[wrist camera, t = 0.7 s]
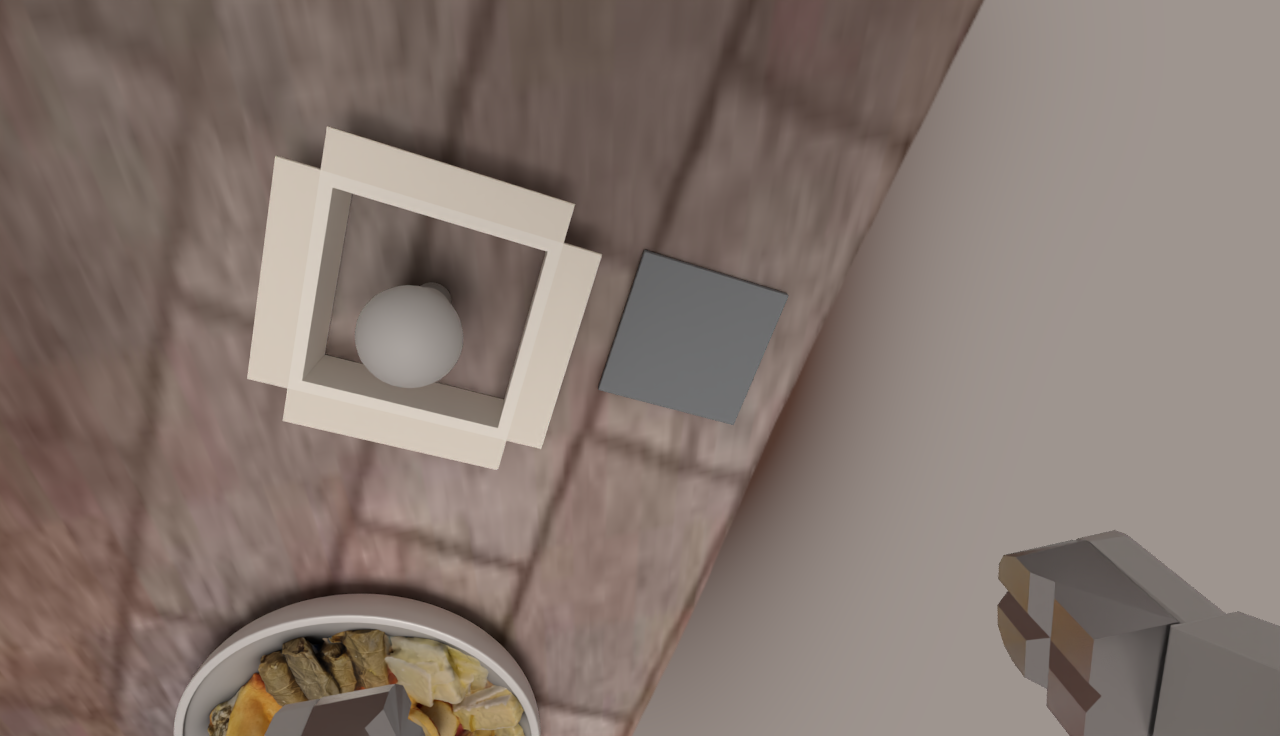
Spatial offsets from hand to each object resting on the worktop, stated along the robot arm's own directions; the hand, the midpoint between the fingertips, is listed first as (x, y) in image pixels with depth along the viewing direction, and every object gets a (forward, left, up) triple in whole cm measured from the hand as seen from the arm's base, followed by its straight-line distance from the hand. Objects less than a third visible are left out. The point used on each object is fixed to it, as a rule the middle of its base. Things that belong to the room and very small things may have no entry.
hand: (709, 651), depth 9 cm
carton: (+11, -9, -40) cm, 43 cm away
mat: (+9, +10, -40) cm, 42 cm away
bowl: (+51, -6, -41) cm, 65 cm away
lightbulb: (+11, -9, -40) cm, 43 cm away
